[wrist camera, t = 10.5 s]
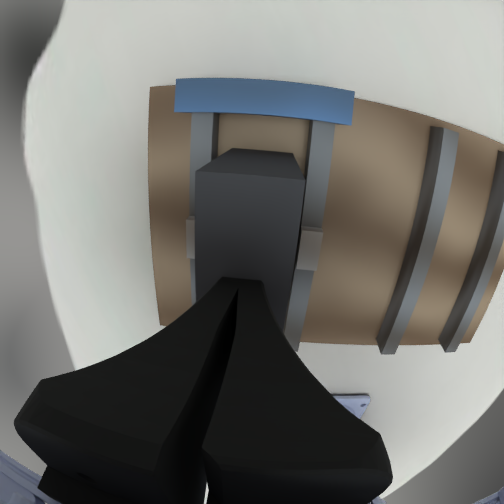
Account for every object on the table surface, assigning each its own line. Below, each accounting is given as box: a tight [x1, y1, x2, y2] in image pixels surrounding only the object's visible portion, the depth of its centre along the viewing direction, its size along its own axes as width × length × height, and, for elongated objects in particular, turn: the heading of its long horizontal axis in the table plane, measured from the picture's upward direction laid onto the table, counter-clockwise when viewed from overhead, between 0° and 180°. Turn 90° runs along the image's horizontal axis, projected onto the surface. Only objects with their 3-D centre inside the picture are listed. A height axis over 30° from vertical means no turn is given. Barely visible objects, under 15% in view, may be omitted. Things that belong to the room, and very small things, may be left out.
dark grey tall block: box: [195, 148, 305, 332], centre depth 13 cm, size 8×3×7 cm, turn 176°
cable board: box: [148, 78, 504, 354], centre depth 15 cm, size 15×24×3 cm, turn 86°
